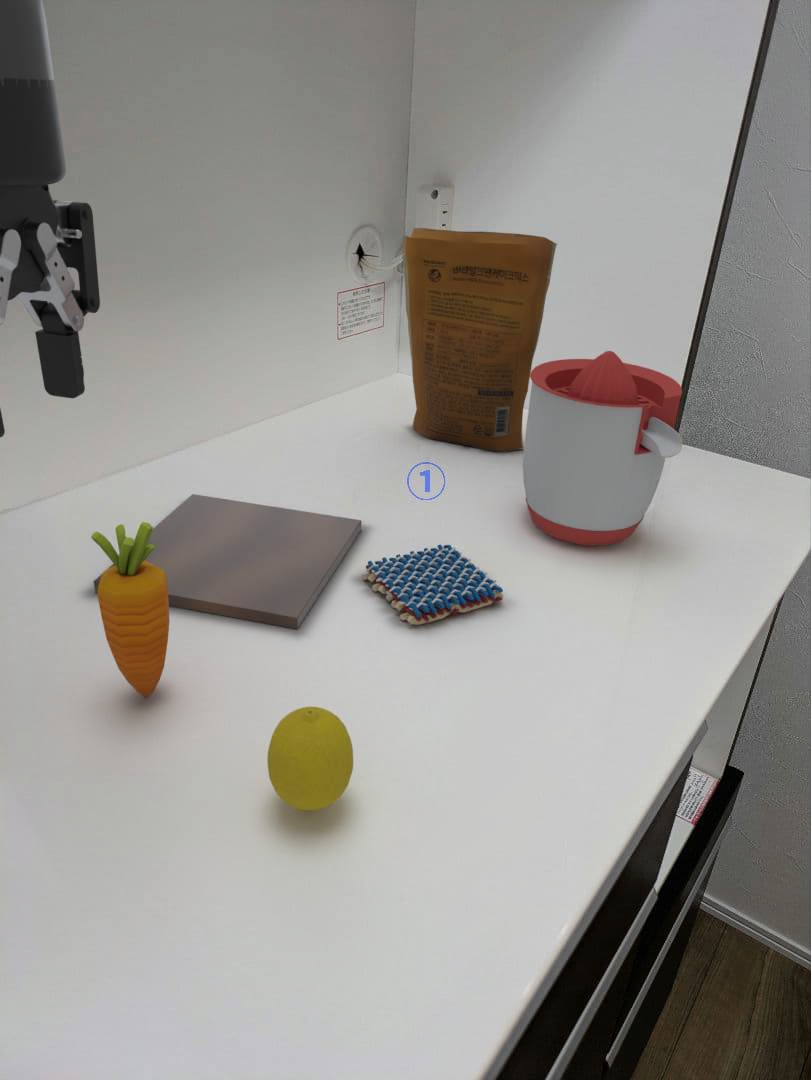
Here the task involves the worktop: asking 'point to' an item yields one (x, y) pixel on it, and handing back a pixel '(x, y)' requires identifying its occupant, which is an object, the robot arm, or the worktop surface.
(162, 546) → the walnut board
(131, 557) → the carrot
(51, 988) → the worktop surface
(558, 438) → the citrus juicer
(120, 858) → the worktop surface
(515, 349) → the pancake mix bag
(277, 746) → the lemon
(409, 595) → the woven mat
